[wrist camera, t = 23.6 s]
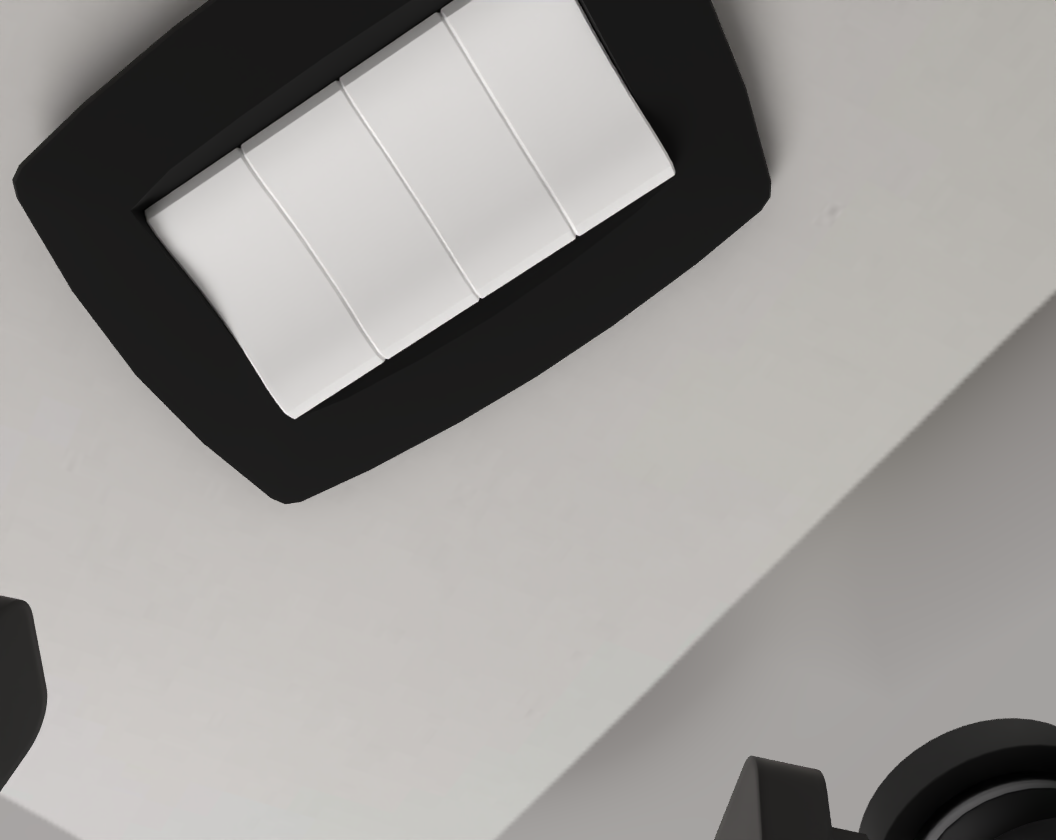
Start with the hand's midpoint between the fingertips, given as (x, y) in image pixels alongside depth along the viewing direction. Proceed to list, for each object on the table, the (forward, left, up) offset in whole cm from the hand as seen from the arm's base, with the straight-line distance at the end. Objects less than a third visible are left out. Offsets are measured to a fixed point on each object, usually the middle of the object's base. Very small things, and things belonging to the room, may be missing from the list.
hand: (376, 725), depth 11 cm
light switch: (-1, -4, -21) cm, 22 cm away
